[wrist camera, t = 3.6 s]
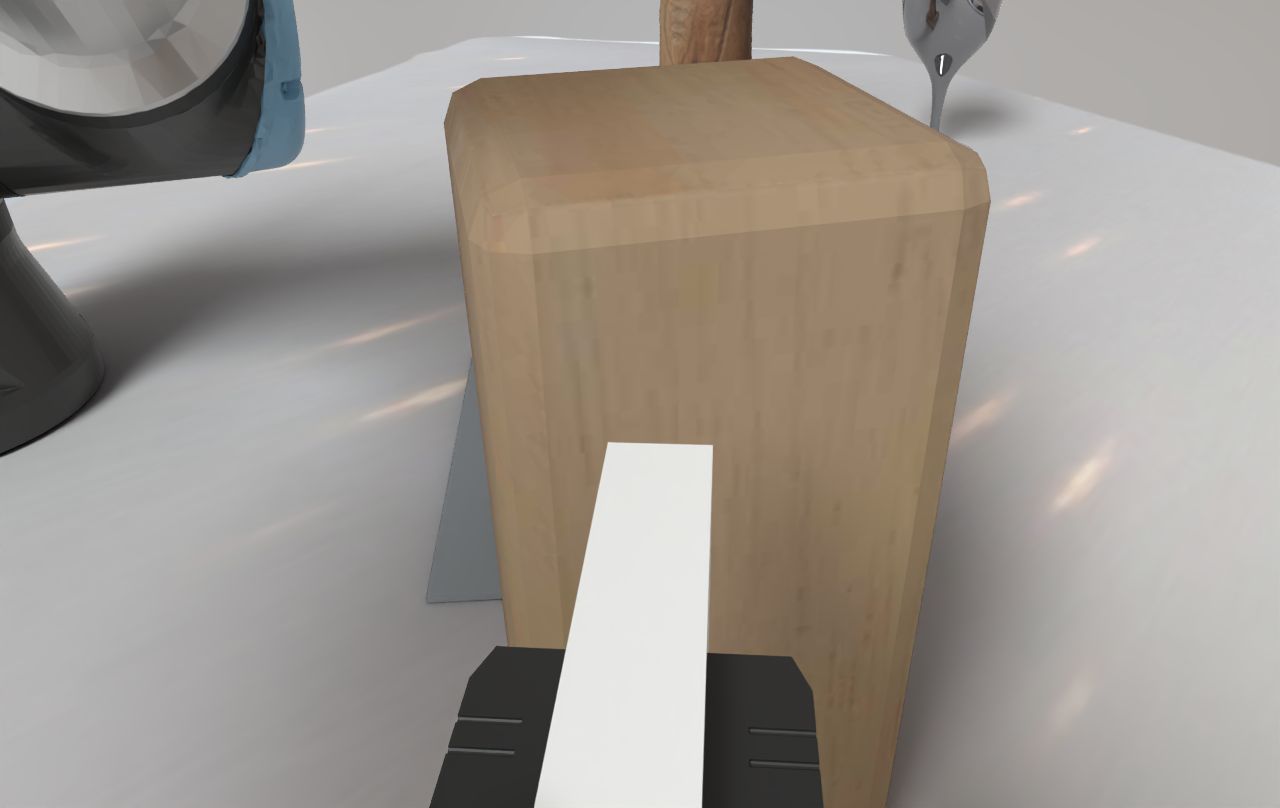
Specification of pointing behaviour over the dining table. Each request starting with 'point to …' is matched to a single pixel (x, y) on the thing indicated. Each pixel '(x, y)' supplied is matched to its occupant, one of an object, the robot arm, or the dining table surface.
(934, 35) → the wine glass
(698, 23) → the bird sculpture
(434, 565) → the mat
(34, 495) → the dining table surface
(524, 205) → the wooden block
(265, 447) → the dining table surface
